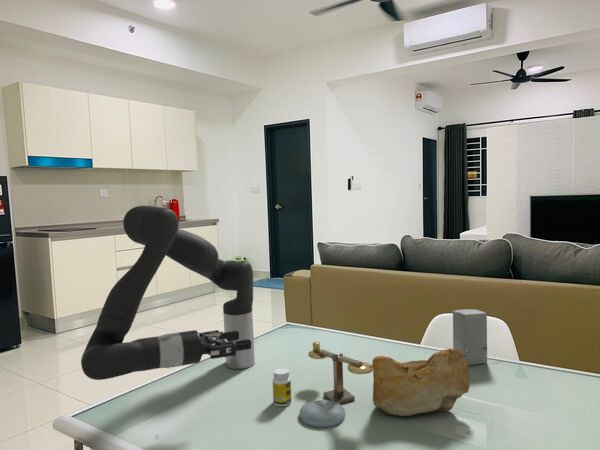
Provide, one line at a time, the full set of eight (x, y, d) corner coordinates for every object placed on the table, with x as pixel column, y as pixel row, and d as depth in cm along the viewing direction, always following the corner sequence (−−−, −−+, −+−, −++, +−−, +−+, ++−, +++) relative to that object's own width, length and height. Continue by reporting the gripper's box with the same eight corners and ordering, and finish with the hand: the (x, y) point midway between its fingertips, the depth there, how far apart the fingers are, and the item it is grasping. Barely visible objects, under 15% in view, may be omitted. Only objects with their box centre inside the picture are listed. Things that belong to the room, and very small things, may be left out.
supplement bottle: (289, 407, 112) (287, 375, 111) (271, 406, 113) (269, 374, 112) (293, 398, 116) (292, 367, 116) (276, 397, 117) (274, 367, 117)
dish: (292, 411, 110) (292, 405, 110) (331, 401, 114) (331, 396, 114) (312, 432, 100) (311, 426, 100) (353, 420, 104) (353, 414, 104)
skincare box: (464, 366, 133) (464, 315, 132) (451, 358, 140) (450, 309, 139) (489, 363, 135) (488, 312, 134) (474, 355, 142) (474, 307, 141)
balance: (305, 380, 127) (304, 335, 126) (324, 376, 130) (322, 332, 129) (357, 425, 102) (355, 369, 101) (379, 419, 104) (377, 364, 103)
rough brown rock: (457, 392, 118) (453, 336, 119) (476, 418, 102) (471, 354, 102) (370, 395, 120) (366, 340, 121) (374, 421, 104) (370, 357, 104)
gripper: (185, 341, 95) (255, 331, 102) (171, 326, 107) (234, 318, 115) (185, 375, 95) (255, 362, 103) (171, 356, 108) (234, 346, 115)
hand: (244, 339), depth 109 cm, fingers open, 8 cm apart
